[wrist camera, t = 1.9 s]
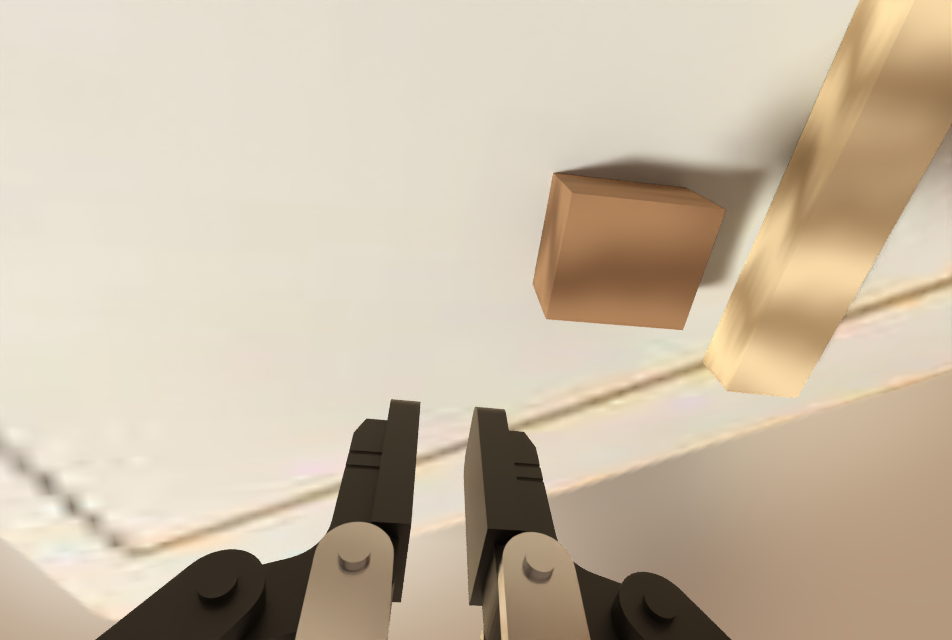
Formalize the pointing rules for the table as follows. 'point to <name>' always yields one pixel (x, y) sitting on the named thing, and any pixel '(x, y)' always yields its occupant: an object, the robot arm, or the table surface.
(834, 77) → the ash board
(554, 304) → the walnut block
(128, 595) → the table surface
